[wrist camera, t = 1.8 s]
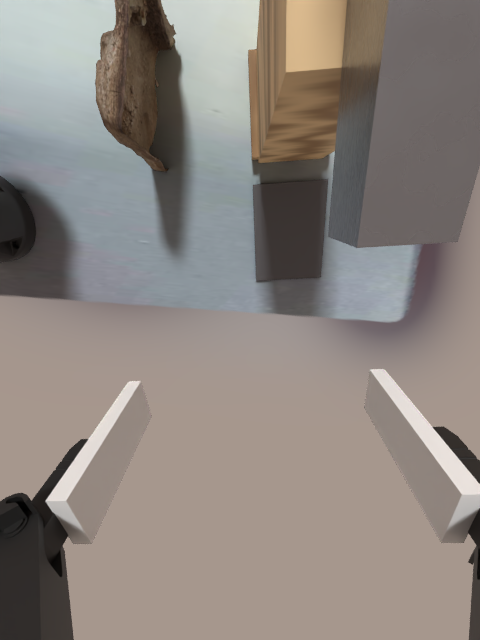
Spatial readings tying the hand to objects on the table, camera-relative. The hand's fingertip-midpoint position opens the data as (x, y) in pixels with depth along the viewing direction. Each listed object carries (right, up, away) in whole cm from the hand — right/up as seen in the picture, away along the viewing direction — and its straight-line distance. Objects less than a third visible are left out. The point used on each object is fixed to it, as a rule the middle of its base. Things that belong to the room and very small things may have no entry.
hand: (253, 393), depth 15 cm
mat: (+8, +19, +29) cm, 36 cm away
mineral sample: (-12, +36, +23) cm, 44 cm away
